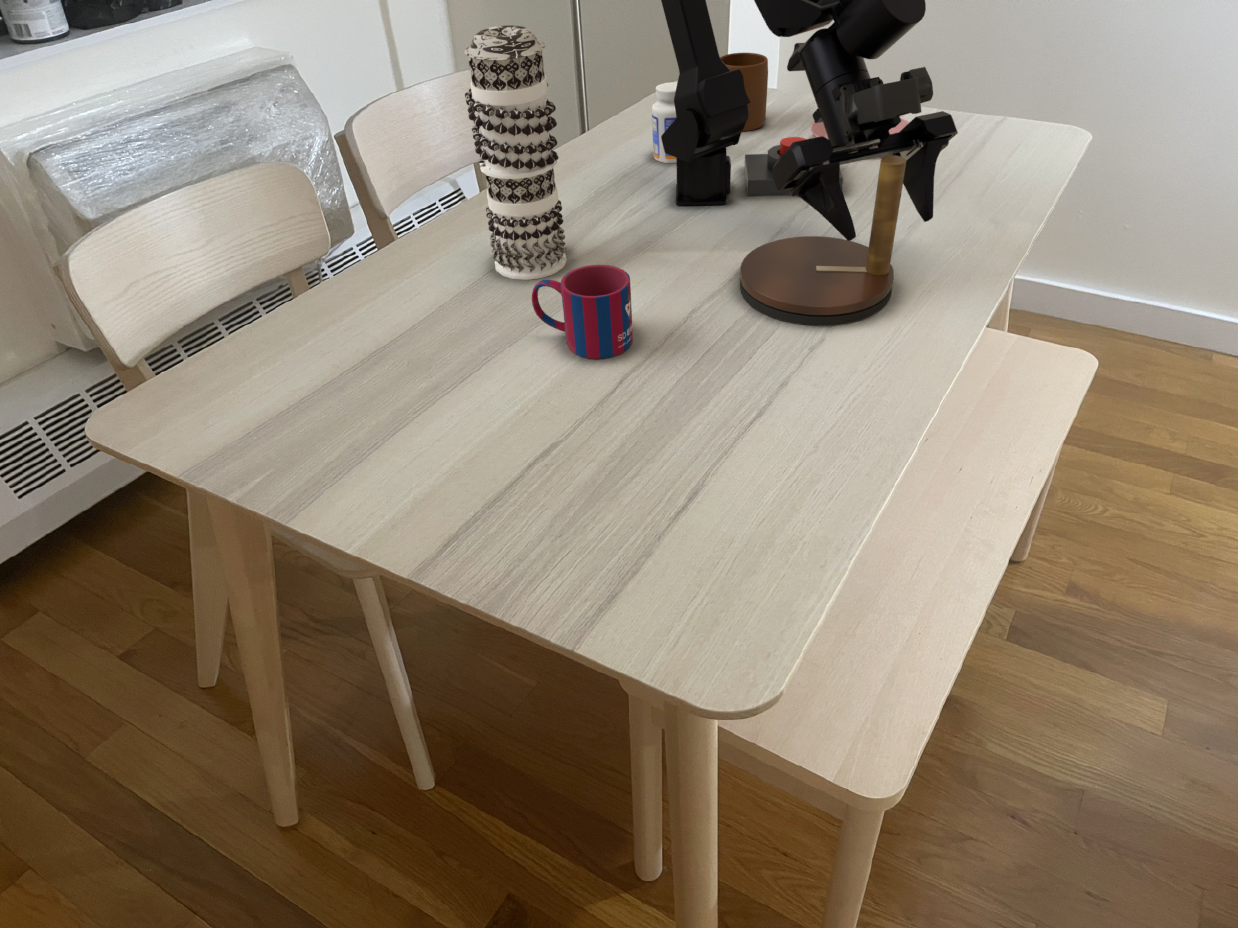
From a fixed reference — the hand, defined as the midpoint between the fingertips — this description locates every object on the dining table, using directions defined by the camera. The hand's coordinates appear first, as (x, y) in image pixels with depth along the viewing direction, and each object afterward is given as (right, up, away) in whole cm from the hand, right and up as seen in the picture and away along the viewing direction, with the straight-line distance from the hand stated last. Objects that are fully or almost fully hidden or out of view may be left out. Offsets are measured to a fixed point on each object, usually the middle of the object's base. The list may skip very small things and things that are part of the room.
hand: (891, 229), depth 90 cm
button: (-5, +17, +26) cm, 31 cm away
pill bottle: (-20, +20, +37) cm, 47 cm away
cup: (-31, -11, 0) cm, 33 cm away
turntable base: (-6, -5, +6) cm, 10 cm away
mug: (-10, +27, +45) cm, 54 cm away
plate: (+7, +23, +38) cm, 45 cm away
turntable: (-6, -4, +5) cm, 9 cm away
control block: (-5, +14, +28) cm, 32 cm away
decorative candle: (-38, 0, +14) cm, 40 cm away
